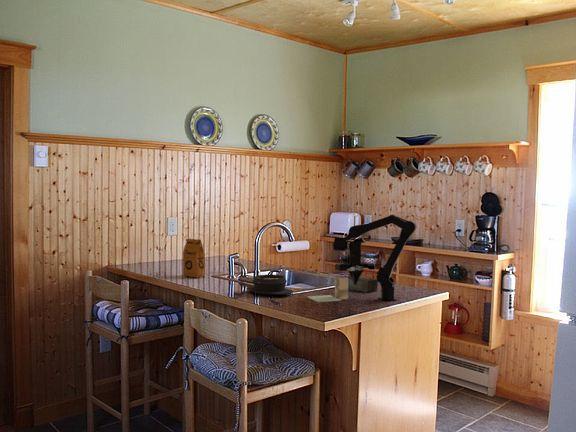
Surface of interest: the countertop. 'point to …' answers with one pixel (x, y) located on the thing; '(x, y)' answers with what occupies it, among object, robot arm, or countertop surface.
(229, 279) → the countertop surface
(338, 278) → the beige bevelled block
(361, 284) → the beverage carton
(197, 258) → the coffee package
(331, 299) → the mat
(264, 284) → the casserole
